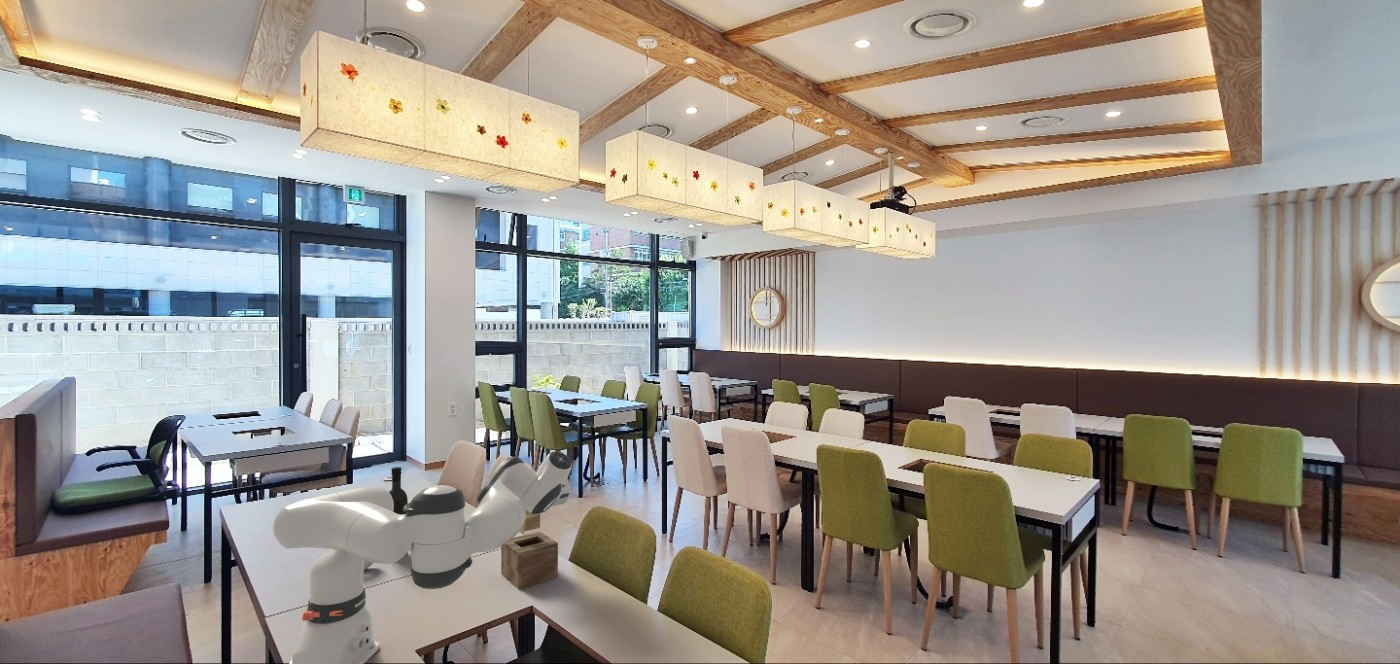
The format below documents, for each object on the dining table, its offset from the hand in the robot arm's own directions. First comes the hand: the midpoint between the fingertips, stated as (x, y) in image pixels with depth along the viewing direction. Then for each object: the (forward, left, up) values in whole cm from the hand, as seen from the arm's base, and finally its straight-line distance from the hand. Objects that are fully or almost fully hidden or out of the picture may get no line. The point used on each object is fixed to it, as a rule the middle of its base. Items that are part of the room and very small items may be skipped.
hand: (529, 513), depth 190 cm
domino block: (-1, 0, -5) cm, 5 cm away
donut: (+13, +54, -20) cm, 59 cm away
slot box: (0, 0, -20) cm, 20 cm away
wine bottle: (+25, +47, -20) cm, 56 cm away
